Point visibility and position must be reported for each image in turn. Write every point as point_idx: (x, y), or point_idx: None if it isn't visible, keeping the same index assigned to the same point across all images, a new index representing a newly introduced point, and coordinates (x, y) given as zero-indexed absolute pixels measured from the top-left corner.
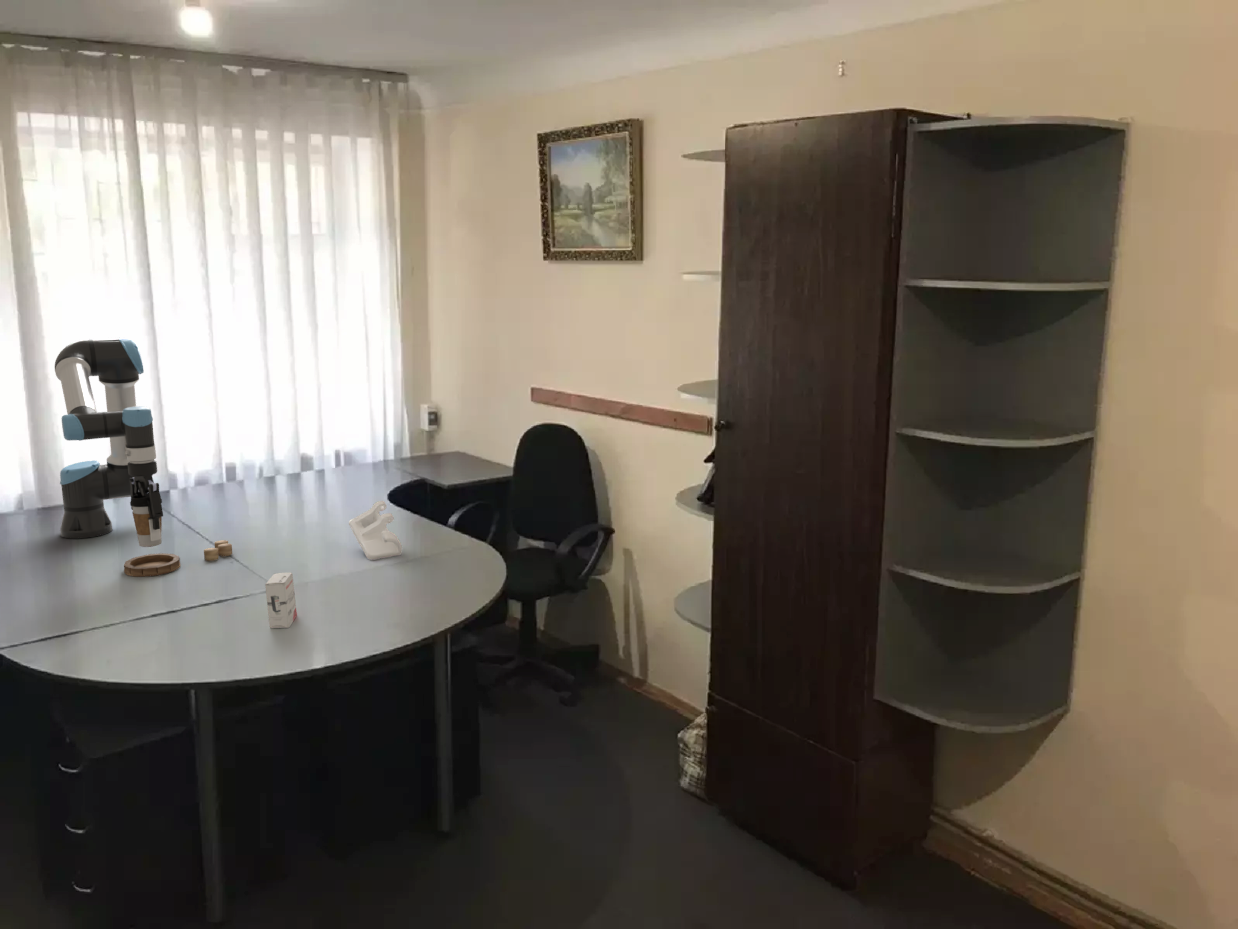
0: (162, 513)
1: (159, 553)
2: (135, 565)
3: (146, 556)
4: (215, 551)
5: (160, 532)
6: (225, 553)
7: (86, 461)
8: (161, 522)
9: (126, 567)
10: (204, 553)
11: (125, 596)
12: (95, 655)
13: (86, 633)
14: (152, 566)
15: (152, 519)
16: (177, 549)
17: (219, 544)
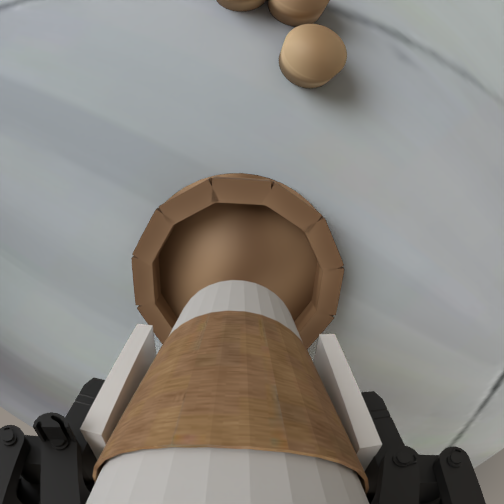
0: (470, 465)
1: (154, 216)
2: (172, 307)
3: (152, 269)
4: (345, 51)
5: (345, 361)
6: (321, 13)
7: None
8: (292, 360)
9: None
10: (309, 80)
11: (392, 406)
12: (490, 445)
13: None
14: (308, 320)
15: (365, 472)
16: (76, 95)
17: None
